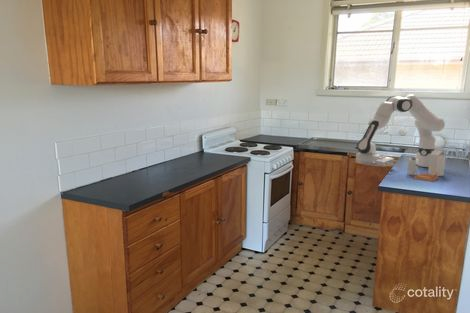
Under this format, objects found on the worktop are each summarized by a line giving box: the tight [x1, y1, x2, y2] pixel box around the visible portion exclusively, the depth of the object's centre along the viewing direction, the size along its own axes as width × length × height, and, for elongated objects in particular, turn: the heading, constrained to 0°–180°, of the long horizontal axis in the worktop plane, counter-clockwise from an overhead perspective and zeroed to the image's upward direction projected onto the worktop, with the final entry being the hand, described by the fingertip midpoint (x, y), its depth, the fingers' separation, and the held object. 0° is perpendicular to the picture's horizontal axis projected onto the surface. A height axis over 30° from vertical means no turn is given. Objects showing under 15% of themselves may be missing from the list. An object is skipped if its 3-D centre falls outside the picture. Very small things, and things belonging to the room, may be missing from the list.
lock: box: [407, 156, 419, 176], centre depth 273 cm, size 5×6×12 cm
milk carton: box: [427, 147, 447, 177], centre depth 272 cm, size 7×7×19 cm
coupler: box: [413, 173, 439, 182], centre depth 263 cm, size 14×12×4 cm
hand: (395, 163), depth 281 cm, fingers open, 8 cm apart
